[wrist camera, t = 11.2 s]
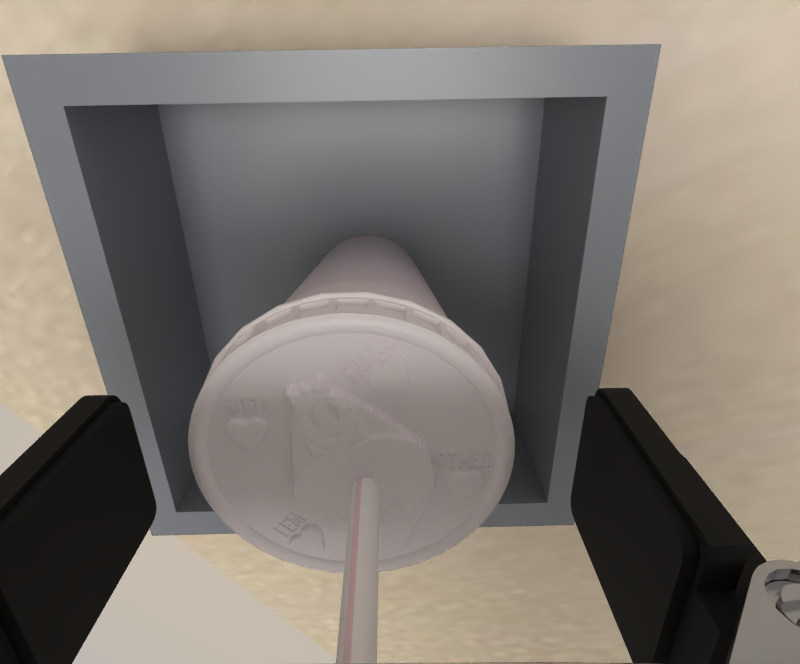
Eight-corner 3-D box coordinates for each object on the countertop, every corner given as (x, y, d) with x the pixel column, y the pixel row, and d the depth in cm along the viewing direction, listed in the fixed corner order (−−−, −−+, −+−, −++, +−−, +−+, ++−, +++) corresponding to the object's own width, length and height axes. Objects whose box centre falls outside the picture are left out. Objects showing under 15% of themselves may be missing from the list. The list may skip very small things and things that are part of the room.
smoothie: (330, 385, 20) (241, 876, 8) (245, 242, 18) (-100, 631, 5) (482, 324, 19) (660, 773, 7) (414, 162, 17) (498, 406, 4)
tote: (529, 418, 23) (574, 524, 17) (209, 426, 22) (152, 535, 17) (571, 56, 16) (661, 44, 11) (129, 63, 16) (1, 55, 11)
